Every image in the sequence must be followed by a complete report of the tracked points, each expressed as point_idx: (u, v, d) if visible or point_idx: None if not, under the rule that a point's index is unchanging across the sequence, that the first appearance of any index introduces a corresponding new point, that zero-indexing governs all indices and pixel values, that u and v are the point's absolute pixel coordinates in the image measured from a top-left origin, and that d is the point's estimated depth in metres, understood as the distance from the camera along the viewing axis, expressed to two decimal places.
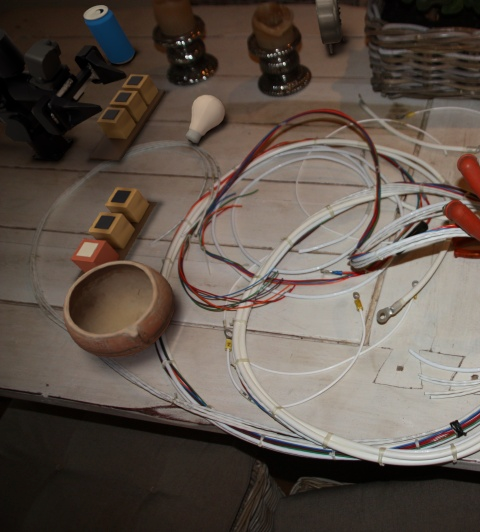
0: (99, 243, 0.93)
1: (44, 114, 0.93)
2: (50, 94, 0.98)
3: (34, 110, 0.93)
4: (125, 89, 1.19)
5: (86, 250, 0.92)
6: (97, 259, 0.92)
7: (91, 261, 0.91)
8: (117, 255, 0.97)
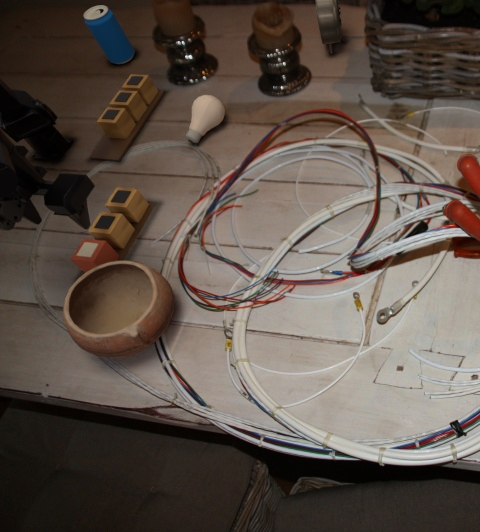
0: (99, 243, 0.93)
1: None
2: None
3: None
4: (125, 89, 1.19)
5: (86, 250, 0.92)
6: (97, 259, 0.92)
7: (91, 261, 0.91)
8: (117, 255, 0.97)
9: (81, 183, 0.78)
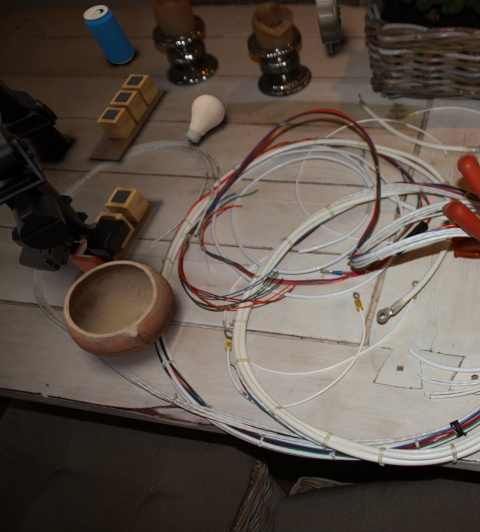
0: None
1: None
2: None
3: None
4: (125, 89, 1.19)
5: None
6: (97, 259, 0.92)
7: (91, 261, 0.91)
8: (117, 255, 0.97)
9: (119, 228, 0.87)
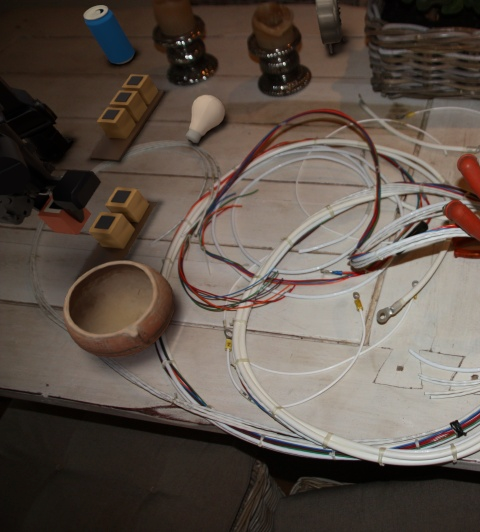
0: None
1: None
2: None
3: None
4: (125, 89, 1.19)
5: None
6: (66, 215, 0.86)
7: (59, 217, 0.85)
8: (88, 213, 0.91)
9: (88, 179, 0.81)
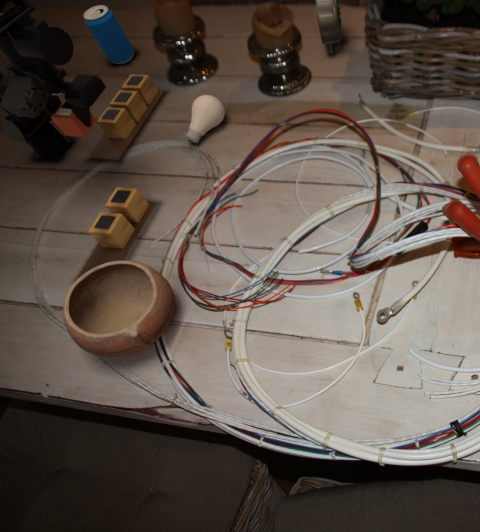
0: None
1: None
2: None
3: None
4: (125, 89, 1.19)
5: (66, 109, 1.00)
6: (75, 117, 0.99)
7: (69, 118, 0.99)
8: (95, 120, 1.04)
9: (95, 82, 0.94)
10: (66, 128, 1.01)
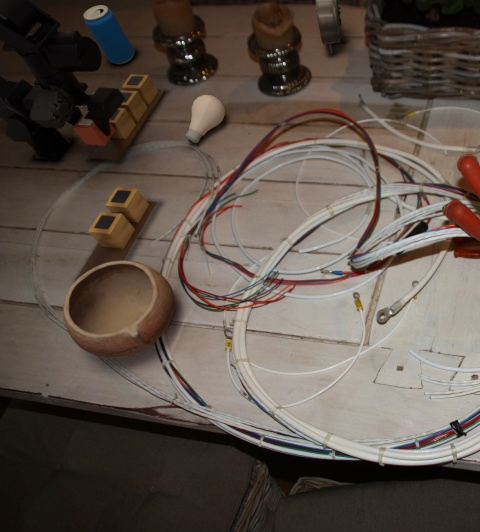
0: None
1: None
2: None
3: (24, 106, 1.04)
4: (125, 89, 1.19)
5: (87, 120, 1.07)
6: (96, 127, 1.07)
7: (91, 128, 1.06)
8: (113, 129, 1.11)
9: (115, 94, 1.01)
10: (87, 137, 1.09)
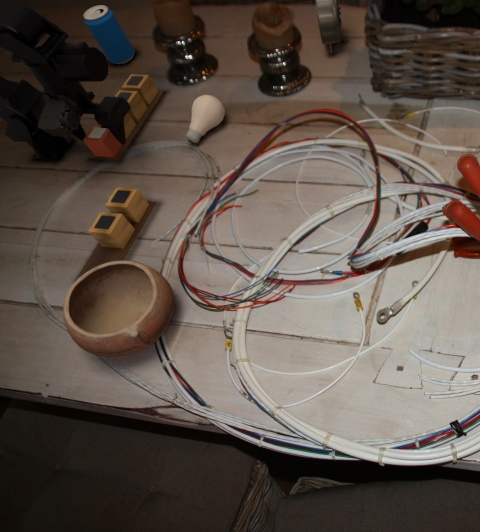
0: None
1: None
2: None
3: (32, 115, 1.05)
4: (125, 89, 1.19)
5: (96, 133, 1.10)
6: (105, 140, 1.10)
7: (100, 141, 1.09)
8: None
9: (121, 103, 1.03)
10: (97, 149, 1.11)
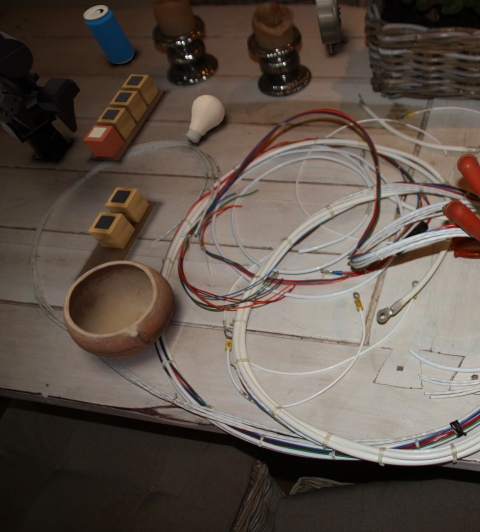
0: (107, 128, 1.11)
1: None
2: None
3: None
4: (125, 89, 1.19)
5: (96, 133, 1.10)
6: (105, 140, 1.10)
7: (100, 141, 1.09)
8: (122, 141, 1.14)
9: (68, 85, 0.92)
10: (97, 149, 1.11)
